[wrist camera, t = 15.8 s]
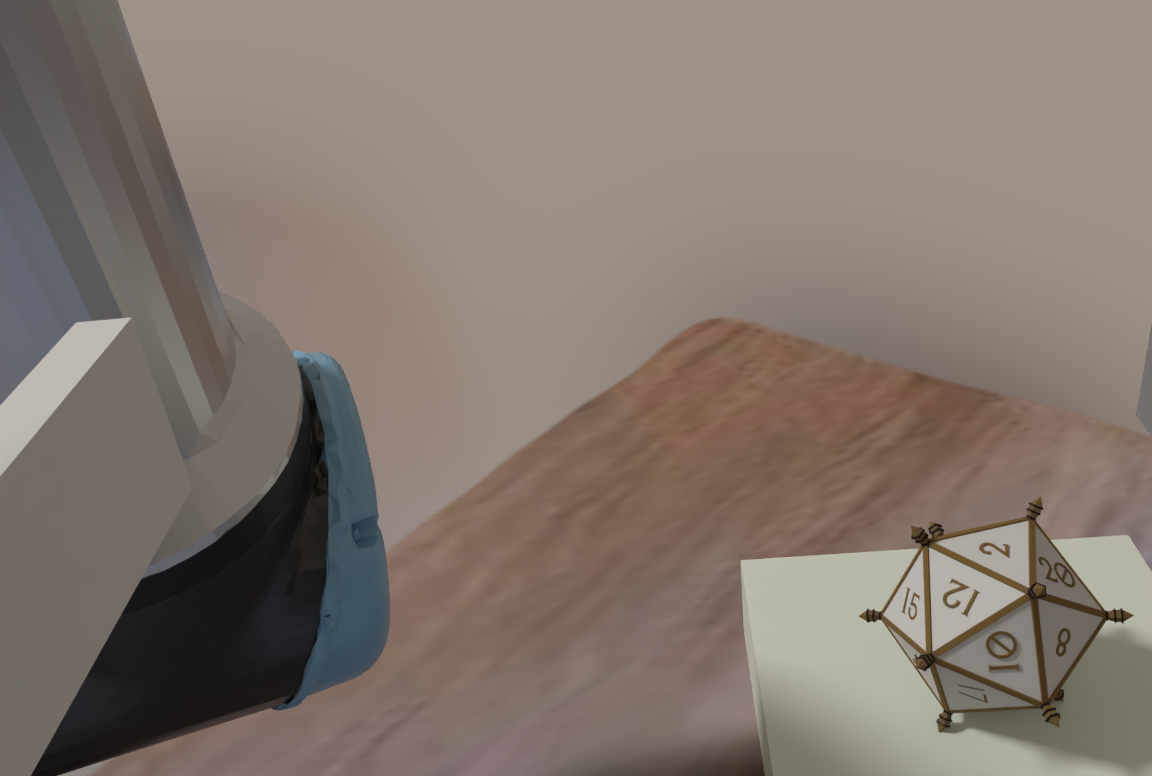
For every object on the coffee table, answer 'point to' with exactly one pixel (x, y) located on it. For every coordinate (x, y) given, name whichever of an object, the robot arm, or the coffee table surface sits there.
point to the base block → (901, 697)
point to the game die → (993, 617)
